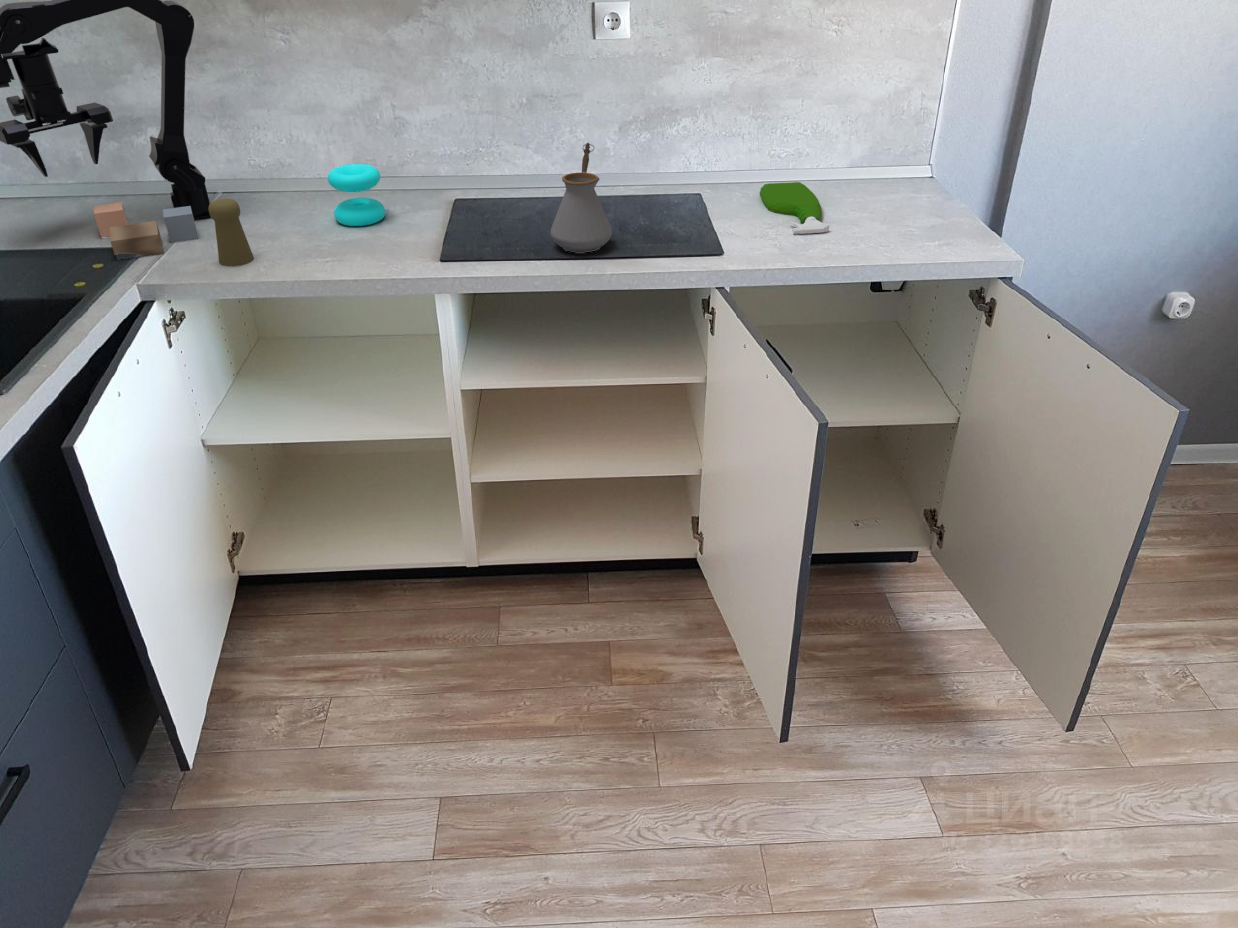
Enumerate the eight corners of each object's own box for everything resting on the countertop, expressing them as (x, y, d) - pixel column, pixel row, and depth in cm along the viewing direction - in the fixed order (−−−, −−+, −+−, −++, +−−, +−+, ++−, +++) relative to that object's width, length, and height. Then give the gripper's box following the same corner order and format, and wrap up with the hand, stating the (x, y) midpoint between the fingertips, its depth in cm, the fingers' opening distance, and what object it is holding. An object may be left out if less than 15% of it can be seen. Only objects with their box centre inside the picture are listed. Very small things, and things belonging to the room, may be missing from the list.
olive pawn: (242, 251, 175) (228, 192, 169) (260, 259, 172) (247, 199, 166) (212, 261, 171) (197, 201, 165) (230, 269, 168) (215, 208, 162)
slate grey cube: (197, 231, 185) (190, 206, 182) (198, 239, 181) (192, 213, 178) (169, 234, 183) (162, 209, 180) (170, 243, 179) (163, 217, 176)
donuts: (318, 177, 180) (336, 161, 188) (328, 227, 186) (345, 210, 194) (369, 178, 179) (385, 162, 187) (377, 229, 185) (392, 212, 193)
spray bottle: (805, 194, 202) (840, 237, 182) (755, 197, 201) (785, 240, 181) (806, 181, 200) (842, 222, 180) (756, 183, 199) (787, 225, 179)
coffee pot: (609, 258, 171) (608, 176, 163) (547, 257, 172) (542, 174, 164) (618, 218, 189) (618, 142, 181) (561, 217, 190) (558, 141, 181)
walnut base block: (162, 241, 181) (156, 220, 178) (164, 255, 175) (158, 234, 172) (116, 247, 178) (109, 227, 176) (117, 262, 172) (110, 241, 170)
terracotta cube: (129, 227, 187) (122, 202, 184) (130, 235, 183) (122, 210, 180) (102, 231, 185) (93, 206, 182) (101, 239, 181) (93, 213, 178)
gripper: (74, 66, 178) (102, 150, 187) (-34, 87, 167) (2, 174, 176) (99, 74, 172) (127, 160, 181) (-11, 96, 161) (25, 186, 169)
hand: (71, 170), depth 177 cm, fingers open, 9 cm apart
